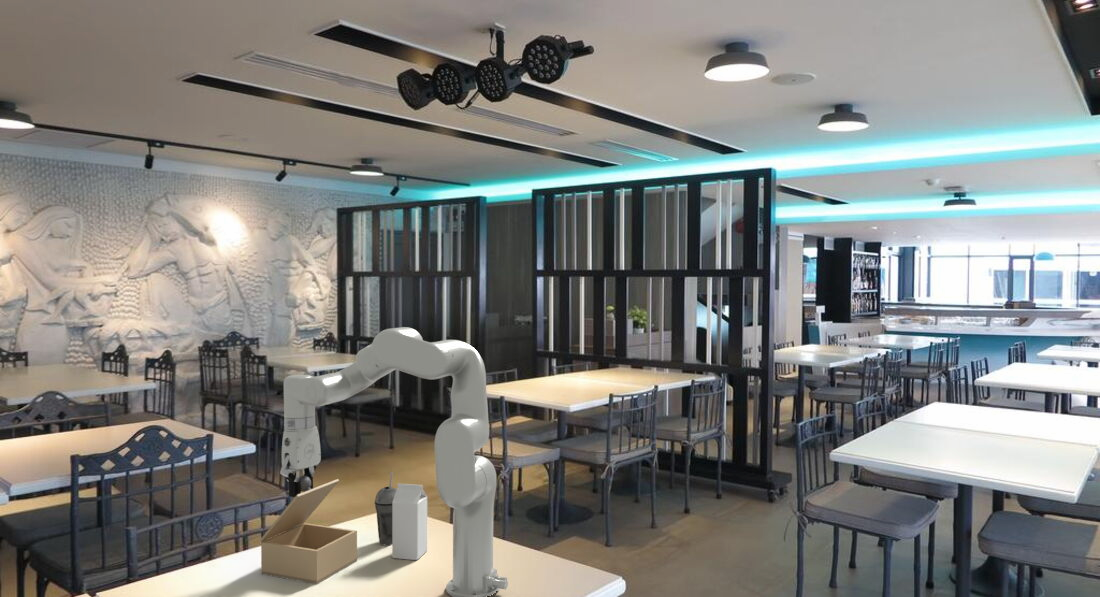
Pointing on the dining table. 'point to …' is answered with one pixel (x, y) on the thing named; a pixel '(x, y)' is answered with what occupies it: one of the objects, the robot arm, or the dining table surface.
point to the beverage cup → (385, 513)
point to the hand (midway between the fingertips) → (301, 493)
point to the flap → (300, 507)
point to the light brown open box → (309, 552)
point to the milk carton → (409, 522)
